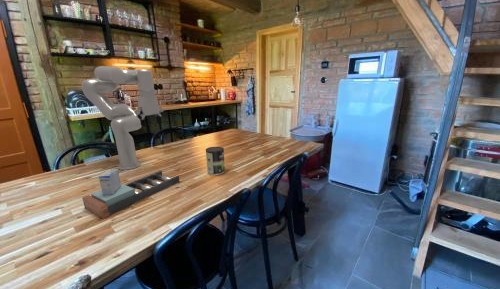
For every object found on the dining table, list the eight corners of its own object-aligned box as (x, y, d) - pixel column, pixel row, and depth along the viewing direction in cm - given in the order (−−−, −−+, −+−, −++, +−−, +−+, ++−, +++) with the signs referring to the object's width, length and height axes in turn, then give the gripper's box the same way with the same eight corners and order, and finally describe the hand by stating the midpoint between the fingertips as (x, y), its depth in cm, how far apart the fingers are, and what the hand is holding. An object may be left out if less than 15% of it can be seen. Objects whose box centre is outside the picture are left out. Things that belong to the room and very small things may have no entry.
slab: (92, 200, 94) (91, 193, 93) (120, 188, 104) (119, 182, 103) (107, 207, 88) (105, 200, 87) (135, 194, 98) (134, 188, 97)
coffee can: (227, 169, 133) (226, 146, 129) (221, 175, 123) (220, 151, 119) (211, 168, 135) (209, 146, 131) (204, 174, 125) (202, 151, 121)
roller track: (84, 207, 93) (82, 197, 92) (161, 176, 124) (160, 167, 123) (103, 218, 86) (100, 207, 84) (179, 181, 117) (178, 172, 115)
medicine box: (111, 187, 99) (107, 169, 96) (121, 186, 99) (118, 168, 97) (102, 195, 91) (98, 176, 89) (114, 194, 92) (110, 175, 90)
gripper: (156, 92, 127) (160, 122, 132) (127, 94, 113) (133, 127, 117) (165, 92, 123) (169, 123, 128) (136, 94, 109) (141, 128, 114)
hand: (151, 125), depth 123 cm, fingers open, 9 cm apart
